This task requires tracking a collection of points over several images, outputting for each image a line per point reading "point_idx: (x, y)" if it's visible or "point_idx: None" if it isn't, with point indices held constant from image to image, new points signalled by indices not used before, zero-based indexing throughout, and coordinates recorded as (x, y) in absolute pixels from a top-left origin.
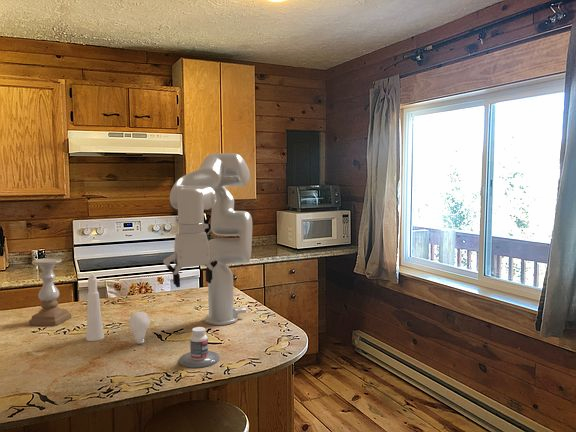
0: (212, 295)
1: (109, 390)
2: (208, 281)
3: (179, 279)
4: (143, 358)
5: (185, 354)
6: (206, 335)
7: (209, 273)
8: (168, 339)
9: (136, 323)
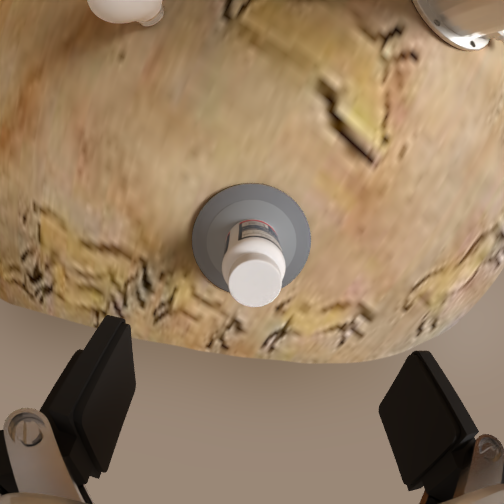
0: None
1: (37, 276)
2: (383, 413)
3: (115, 437)
4: (119, 134)
5: (228, 193)
6: (281, 277)
7: (405, 471)
8: (245, 20)
9: (100, 17)
